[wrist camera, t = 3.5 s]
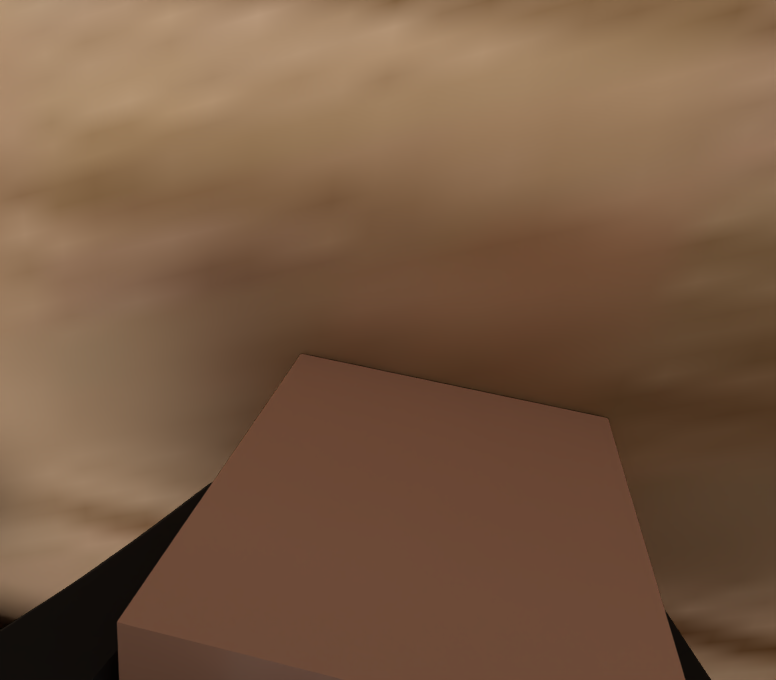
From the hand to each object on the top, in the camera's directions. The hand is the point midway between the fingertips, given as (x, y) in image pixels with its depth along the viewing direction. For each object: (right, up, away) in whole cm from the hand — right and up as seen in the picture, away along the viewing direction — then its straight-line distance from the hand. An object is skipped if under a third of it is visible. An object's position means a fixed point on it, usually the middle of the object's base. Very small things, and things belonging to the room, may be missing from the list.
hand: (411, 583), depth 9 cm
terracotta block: (0, +1, +1) cm, 2 cm away
